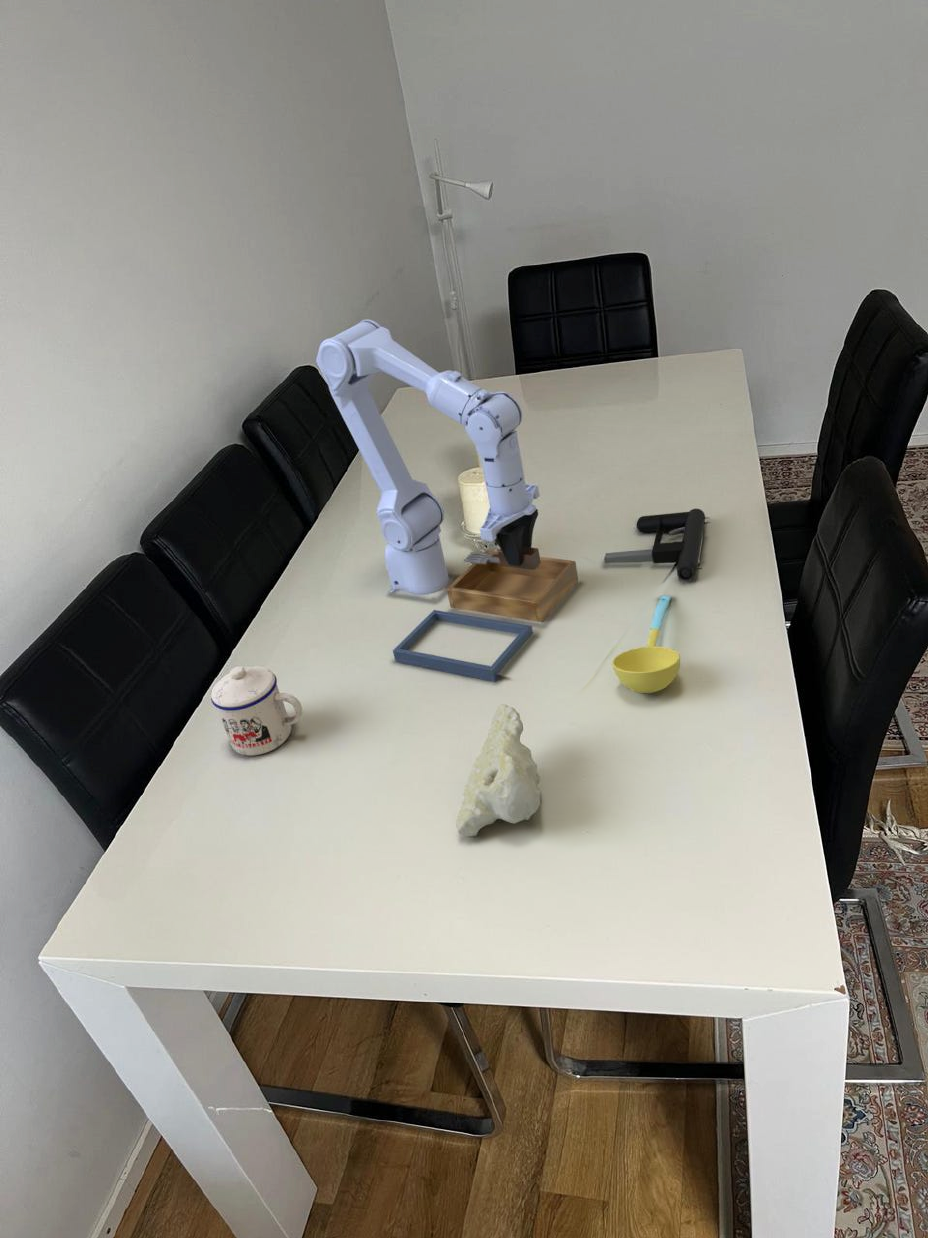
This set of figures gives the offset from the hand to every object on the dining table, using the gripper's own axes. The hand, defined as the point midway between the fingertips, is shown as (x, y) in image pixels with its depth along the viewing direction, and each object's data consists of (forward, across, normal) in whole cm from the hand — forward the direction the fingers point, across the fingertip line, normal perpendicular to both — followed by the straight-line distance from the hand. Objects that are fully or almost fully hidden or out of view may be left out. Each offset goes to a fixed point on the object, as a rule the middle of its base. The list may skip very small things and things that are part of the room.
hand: (519, 559), depth 149 cm
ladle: (+8, -6, -24) cm, 26 cm away
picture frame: (+8, -13, +4) cm, 16 cm away
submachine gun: (+9, +20, -14) cm, 26 cm away
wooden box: (+8, +2, +3) cm, 9 cm away
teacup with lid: (+9, -40, +20) cm, 45 cm away
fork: (+1, 0, +3) cm, 3 cm away
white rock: (+9, -39, -17) cm, 43 cm away
